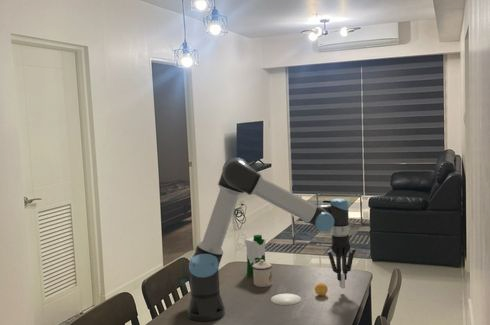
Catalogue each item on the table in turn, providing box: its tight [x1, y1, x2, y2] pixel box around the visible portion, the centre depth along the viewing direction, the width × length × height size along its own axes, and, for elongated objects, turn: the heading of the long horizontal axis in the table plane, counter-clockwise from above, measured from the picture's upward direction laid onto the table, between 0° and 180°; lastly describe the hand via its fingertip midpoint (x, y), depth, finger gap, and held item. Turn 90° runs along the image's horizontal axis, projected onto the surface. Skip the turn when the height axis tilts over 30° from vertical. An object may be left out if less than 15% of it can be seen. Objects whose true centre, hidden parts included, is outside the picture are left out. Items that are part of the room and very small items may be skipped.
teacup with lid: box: [252, 260, 273, 288], centre depth 239 cm, size 12×9×12 cm
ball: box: [314, 282, 328, 297], centre depth 219 cm, size 6×6×6 cm
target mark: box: [270, 293, 302, 306], centre depth 217 cm, size 13×13×1 cm
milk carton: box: [244, 234, 267, 277], centre depth 252 cm, size 9×9×20 cm
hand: (342, 287), depth 221 cm, fingers closed
